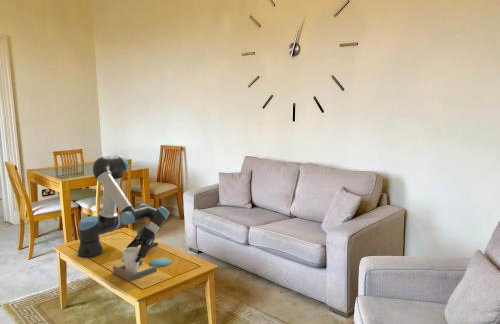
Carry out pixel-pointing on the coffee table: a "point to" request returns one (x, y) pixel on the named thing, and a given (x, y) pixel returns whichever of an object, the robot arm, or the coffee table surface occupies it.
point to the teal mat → (160, 262)
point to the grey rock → (150, 239)
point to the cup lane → (128, 277)
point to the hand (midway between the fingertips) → (126, 264)
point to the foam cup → (130, 259)
